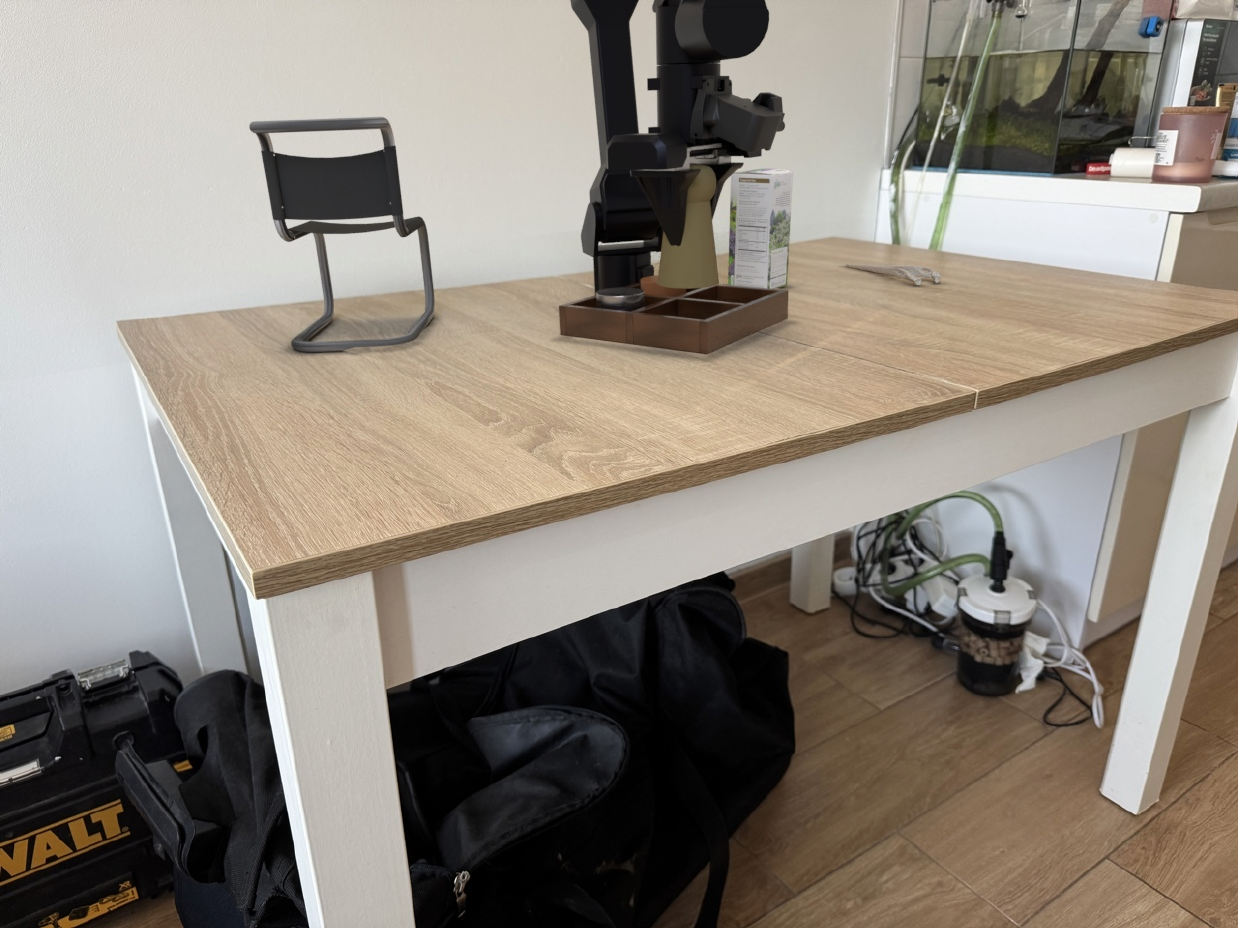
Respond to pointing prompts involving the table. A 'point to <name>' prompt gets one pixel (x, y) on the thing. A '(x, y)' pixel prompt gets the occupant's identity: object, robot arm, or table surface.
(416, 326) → the chair
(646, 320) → the tray
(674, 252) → the olive peg figure
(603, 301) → the tin
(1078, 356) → the table surface
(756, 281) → the syrup box
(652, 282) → the tin
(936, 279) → the grey long forked piece
